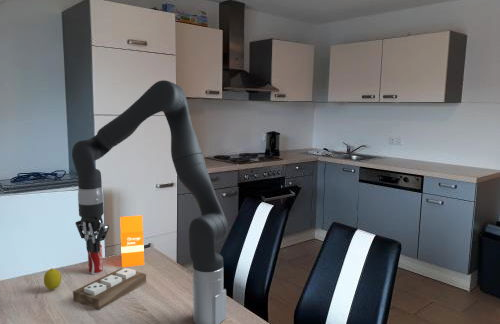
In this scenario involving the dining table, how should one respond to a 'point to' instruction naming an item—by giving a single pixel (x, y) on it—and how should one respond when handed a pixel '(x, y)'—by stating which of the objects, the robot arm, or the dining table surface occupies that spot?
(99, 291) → the button three
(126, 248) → the orange juice
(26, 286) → the dining table surface
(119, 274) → the button one
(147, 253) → the dining table surface
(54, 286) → the lemon
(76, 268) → the dining table surface
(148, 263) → the dining table surface
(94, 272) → the soda can
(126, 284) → the button panel
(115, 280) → the button two
